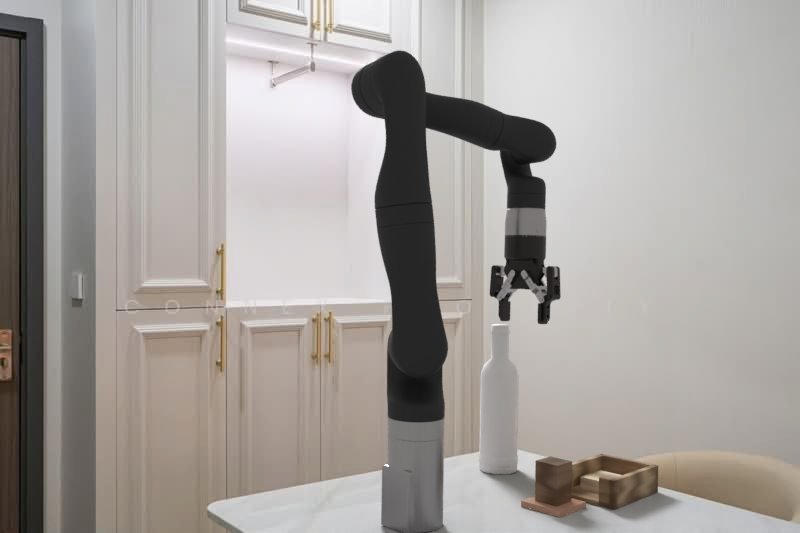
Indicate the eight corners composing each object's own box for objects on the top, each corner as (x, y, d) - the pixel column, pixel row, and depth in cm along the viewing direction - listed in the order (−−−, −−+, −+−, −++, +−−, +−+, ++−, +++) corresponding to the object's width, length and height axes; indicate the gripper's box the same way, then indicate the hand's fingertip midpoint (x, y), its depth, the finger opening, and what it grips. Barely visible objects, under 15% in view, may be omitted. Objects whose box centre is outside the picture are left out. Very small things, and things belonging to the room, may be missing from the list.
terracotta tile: (559, 517, 127) (560, 511, 127) (520, 506, 133) (521, 500, 133) (585, 507, 133) (585, 501, 133) (547, 497, 139) (547, 491, 139)
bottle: (476, 473, 154) (479, 325, 155) (480, 463, 162) (482, 322, 162) (516, 476, 153) (519, 326, 153) (518, 466, 161) (520, 323, 161)
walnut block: (571, 501, 133) (572, 461, 133) (556, 506, 130) (557, 465, 130) (549, 495, 136) (550, 456, 136) (534, 500, 133) (535, 460, 133)
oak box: (613, 509, 132) (614, 481, 132) (555, 494, 141) (555, 467, 141) (657, 492, 143) (658, 465, 143) (601, 478, 152) (601, 453, 152)
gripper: (570, 234, 137) (568, 324, 137) (507, 235, 148) (505, 319, 148) (545, 232, 132) (543, 326, 132) (482, 233, 142) (480, 320, 142)
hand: (523, 322), depth 140 cm, fingers open, 8 cm apart
